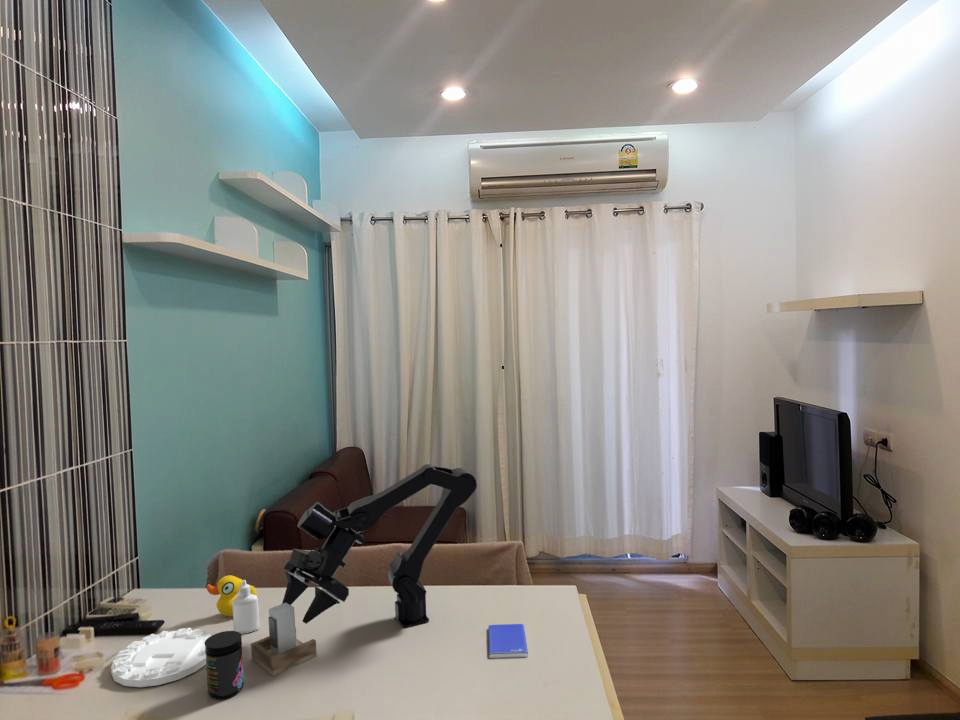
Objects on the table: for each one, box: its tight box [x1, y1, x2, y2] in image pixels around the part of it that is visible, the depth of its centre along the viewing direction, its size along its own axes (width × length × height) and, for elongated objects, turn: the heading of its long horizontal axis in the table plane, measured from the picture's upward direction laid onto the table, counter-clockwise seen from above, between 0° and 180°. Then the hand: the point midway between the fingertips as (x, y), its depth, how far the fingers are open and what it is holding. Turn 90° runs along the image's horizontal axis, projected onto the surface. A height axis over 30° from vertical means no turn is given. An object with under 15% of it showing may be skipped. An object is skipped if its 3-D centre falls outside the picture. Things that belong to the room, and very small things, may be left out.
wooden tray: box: [250, 627, 317, 677], centre depth 134 cm, size 10×10×4 cm
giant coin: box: [110, 627, 212, 688], centre depth 134 cm, size 20×20×3 cm
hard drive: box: [488, 623, 529, 659], centre depth 138 cm, size 2×8×12 cm
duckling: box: [206, 574, 258, 618], centre depth 155 cm, size 11×5×10 cm, turn 114°
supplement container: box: [205, 630, 245, 700], centre depth 122 cm, size 7×7×10 cm
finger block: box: [268, 603, 297, 656], centre depth 134 cm, size 4×4×10 cm
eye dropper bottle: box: [232, 579, 260, 635], centre depth 147 cm, size 4×6×12 cm
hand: (293, 616), depth 135 cm, fingers open, 9 cm apart
